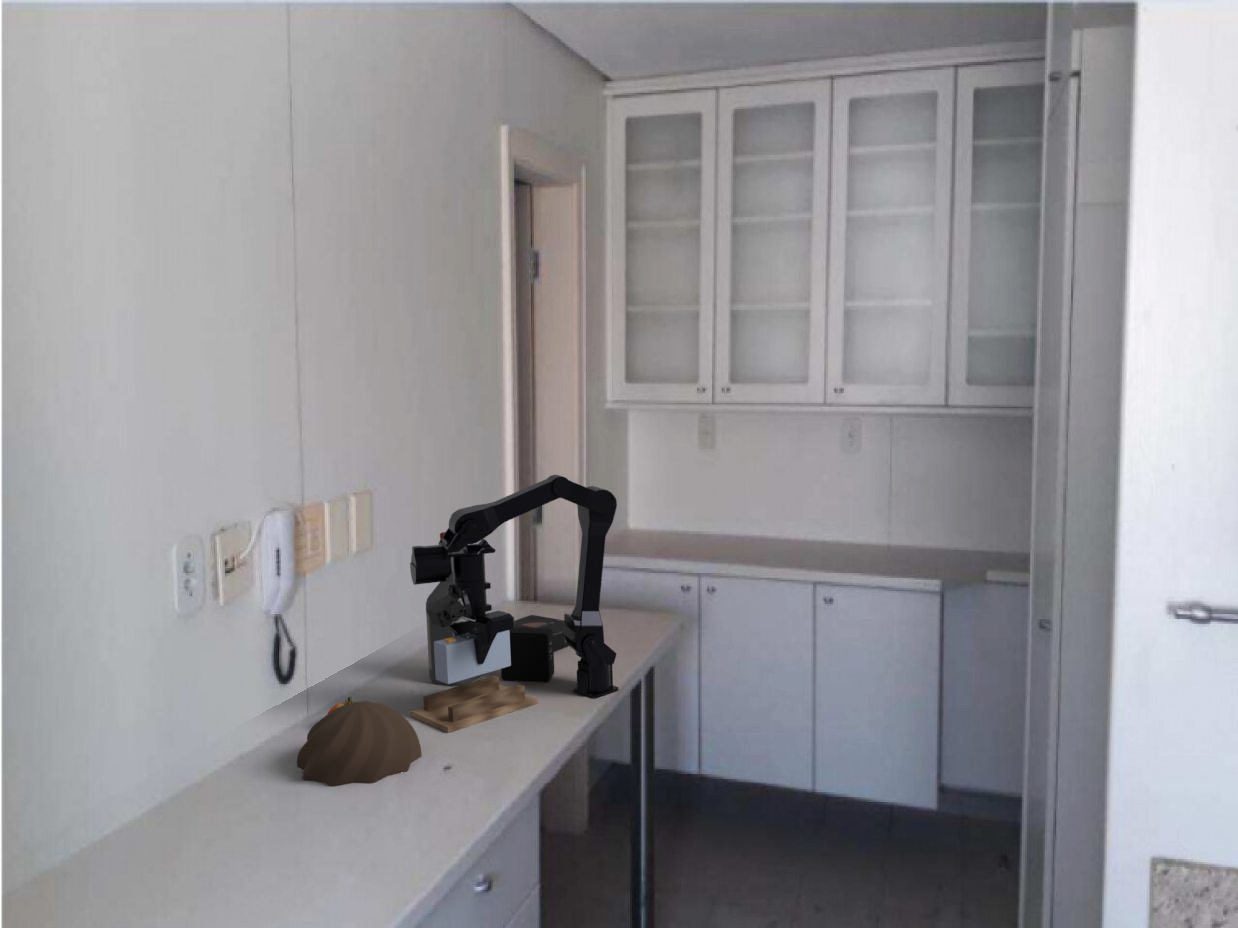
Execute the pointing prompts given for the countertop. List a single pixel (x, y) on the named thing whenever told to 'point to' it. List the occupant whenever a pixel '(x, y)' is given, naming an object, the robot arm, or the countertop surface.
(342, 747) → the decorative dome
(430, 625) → the liquor
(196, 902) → the countertop surface
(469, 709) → the dock
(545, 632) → the electronic device
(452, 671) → the power strip
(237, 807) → the countertop surface
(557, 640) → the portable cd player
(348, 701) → the tomato
